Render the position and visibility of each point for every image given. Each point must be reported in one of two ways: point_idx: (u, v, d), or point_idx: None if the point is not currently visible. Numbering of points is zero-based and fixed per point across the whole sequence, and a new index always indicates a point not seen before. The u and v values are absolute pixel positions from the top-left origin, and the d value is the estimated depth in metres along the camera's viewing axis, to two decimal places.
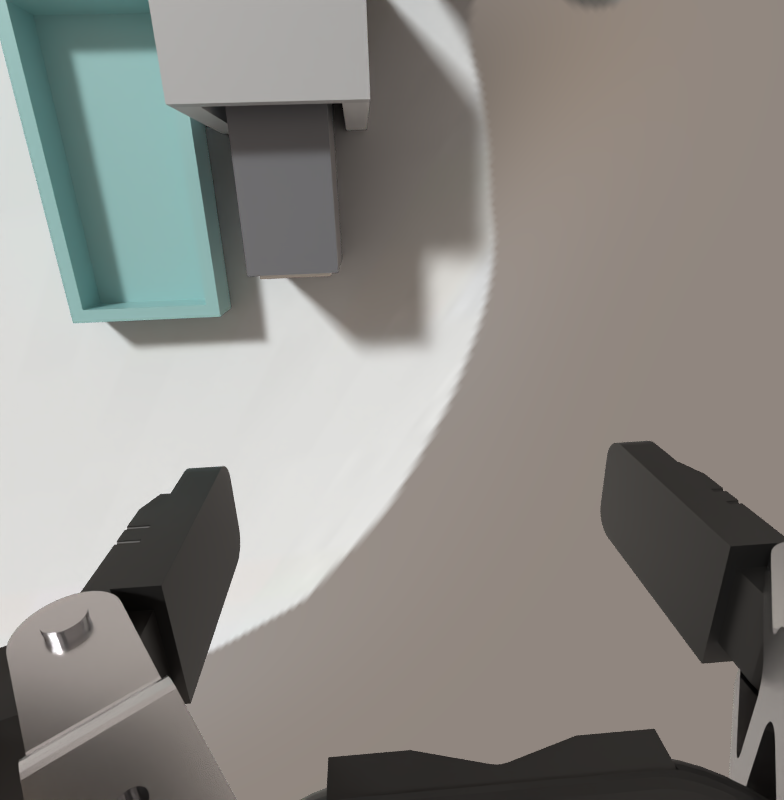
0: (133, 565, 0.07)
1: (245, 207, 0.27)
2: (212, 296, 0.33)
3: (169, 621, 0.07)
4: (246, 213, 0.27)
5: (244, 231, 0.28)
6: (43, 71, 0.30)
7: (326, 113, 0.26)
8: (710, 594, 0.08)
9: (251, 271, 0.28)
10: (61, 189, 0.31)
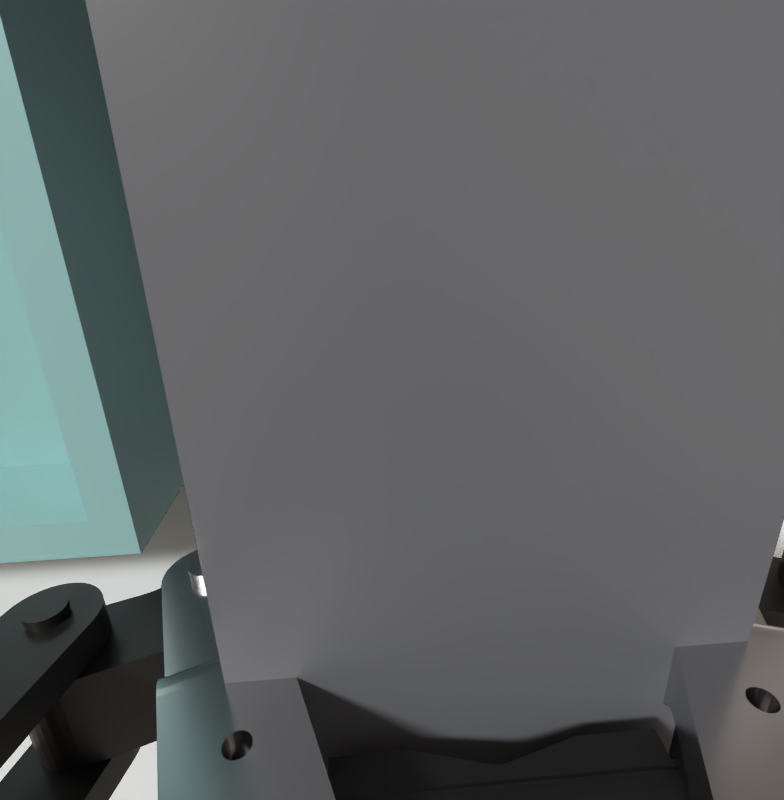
0: None
1: None
2: (108, 495, 0.09)
3: None
4: None
5: None
6: None
7: None
8: None
9: None
10: None
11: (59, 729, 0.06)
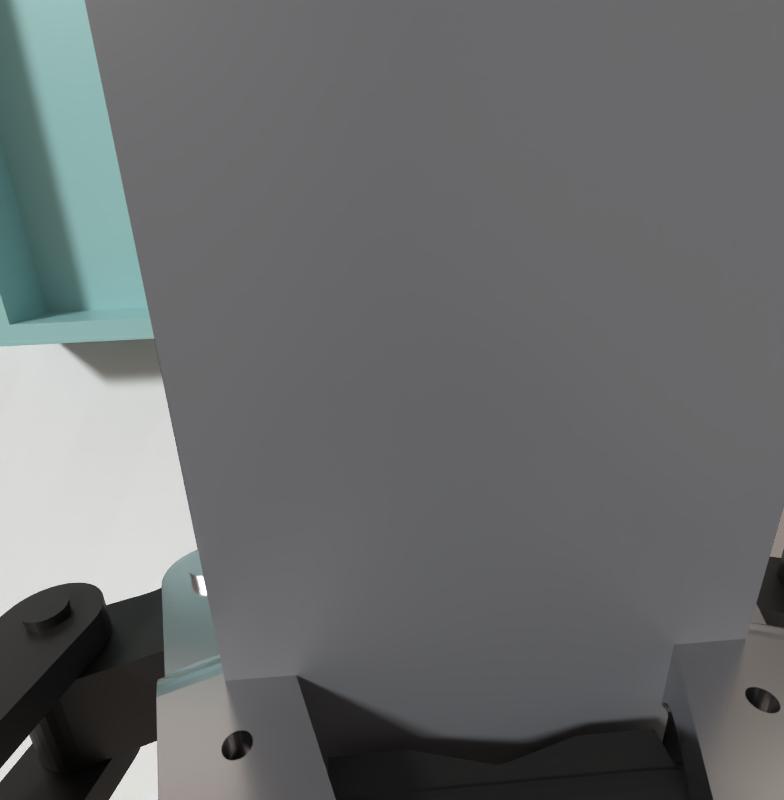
0: None
1: None
2: None
3: None
4: None
5: None
6: None
7: None
8: None
9: None
10: None
11: (59, 729, 0.06)
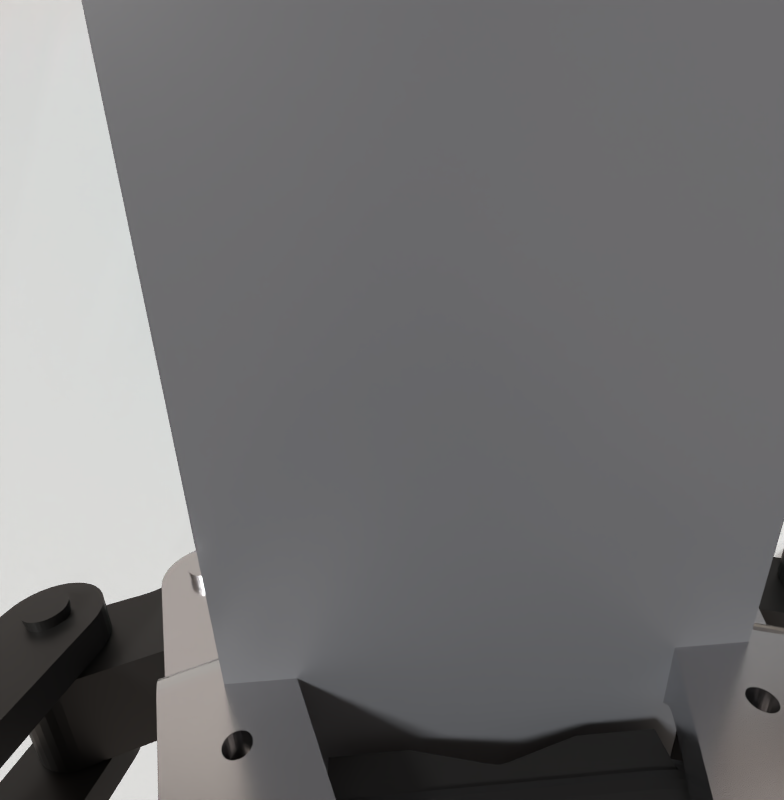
0: None
1: None
2: None
3: None
4: None
5: None
6: None
7: None
8: None
9: None
10: None
11: (59, 729, 0.06)
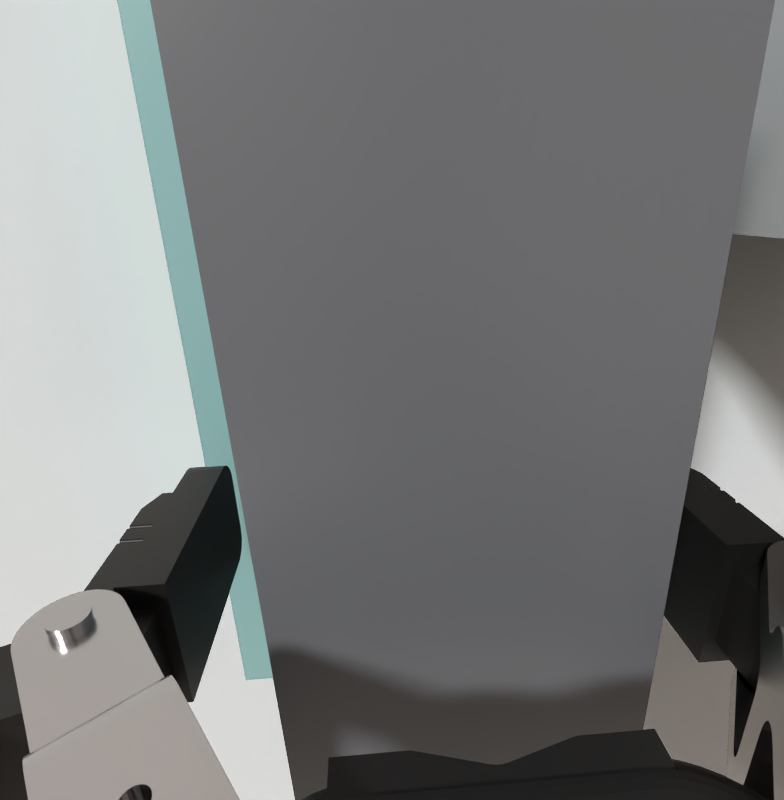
0: (136, 564, 0.07)
1: (303, 680, 0.07)
2: None
3: (172, 619, 0.07)
4: (306, 697, 0.07)
5: (297, 748, 0.07)
6: None
7: (709, 328, 0.05)
8: (706, 593, 0.08)
9: None
10: None
11: None
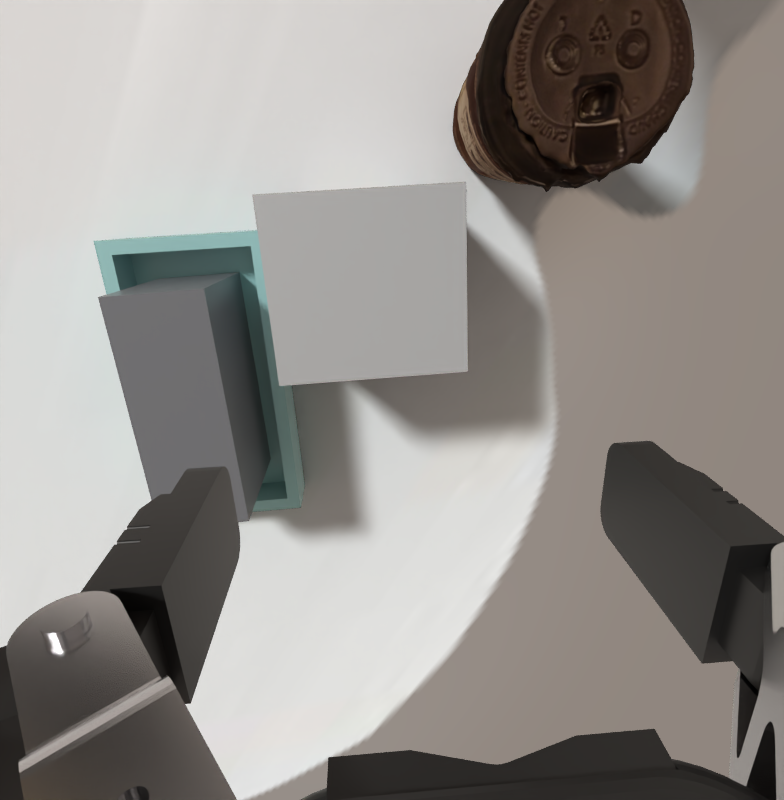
0: (133, 565, 0.07)
1: (151, 473, 0.28)
2: (293, 491, 0.35)
3: (169, 621, 0.07)
4: (153, 477, 0.28)
5: (152, 493, 0.28)
6: None
7: (222, 390, 0.27)
8: (710, 594, 0.08)
9: None
10: None
11: None
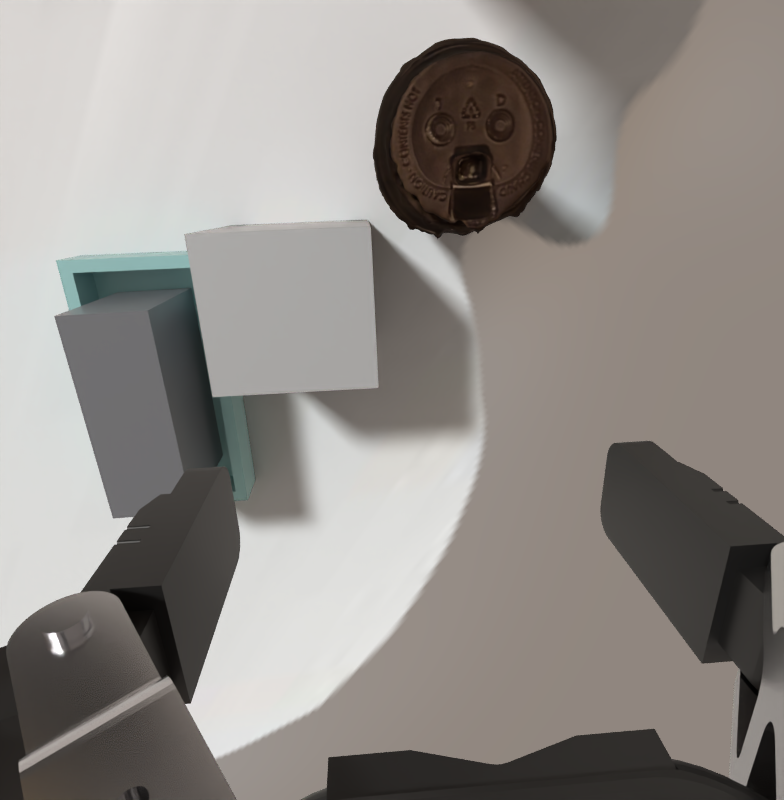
0: (133, 565, 0.07)
1: (104, 468, 0.31)
2: (241, 485, 0.39)
3: (169, 621, 0.07)
4: (106, 473, 0.32)
5: (106, 486, 0.32)
6: None
7: (166, 398, 0.30)
8: (710, 594, 0.08)
9: (116, 514, 0.33)
10: None
11: None
